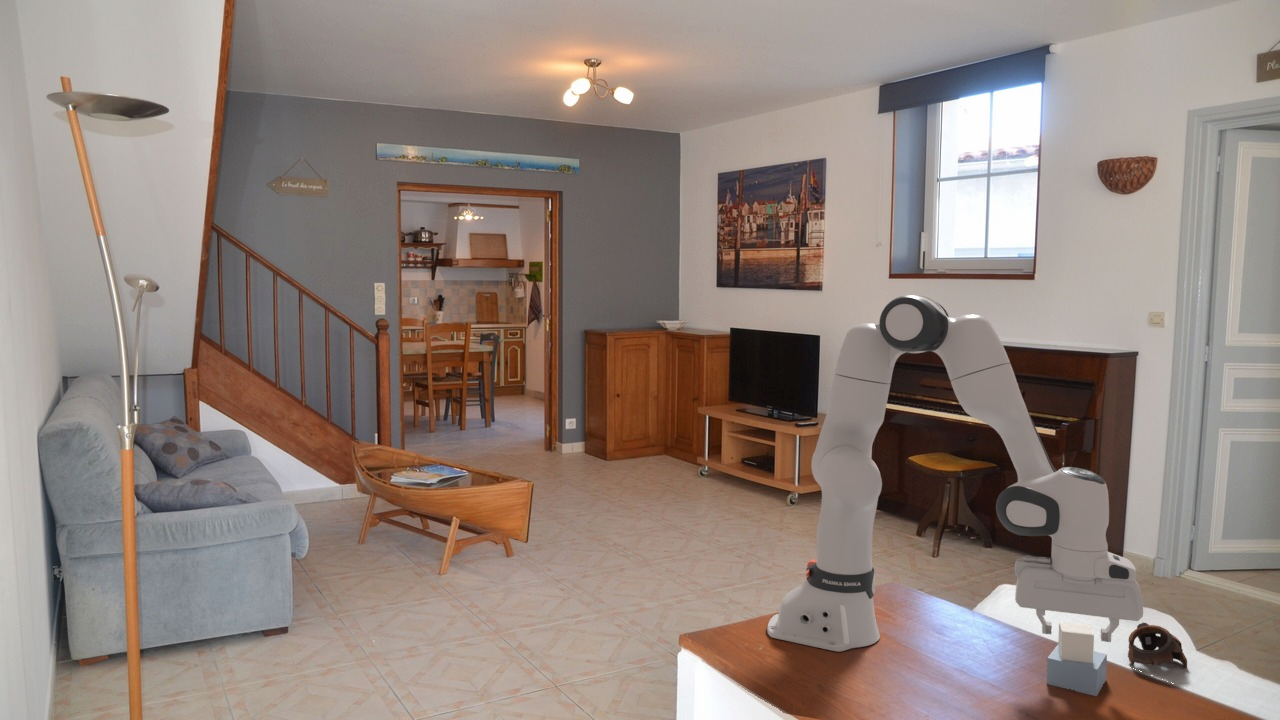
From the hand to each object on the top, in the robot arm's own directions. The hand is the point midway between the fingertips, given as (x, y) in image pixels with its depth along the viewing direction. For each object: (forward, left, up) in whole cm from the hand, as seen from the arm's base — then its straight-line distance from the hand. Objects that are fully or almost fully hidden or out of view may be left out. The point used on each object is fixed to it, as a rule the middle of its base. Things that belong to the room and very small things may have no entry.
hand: (1075, 636), depth 155 cm
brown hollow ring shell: (+15, +14, -9) cm, 22 cm away
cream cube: (0, 0, -4) cm, 4 cm away
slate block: (0, 0, -9) cm, 9 cm away
